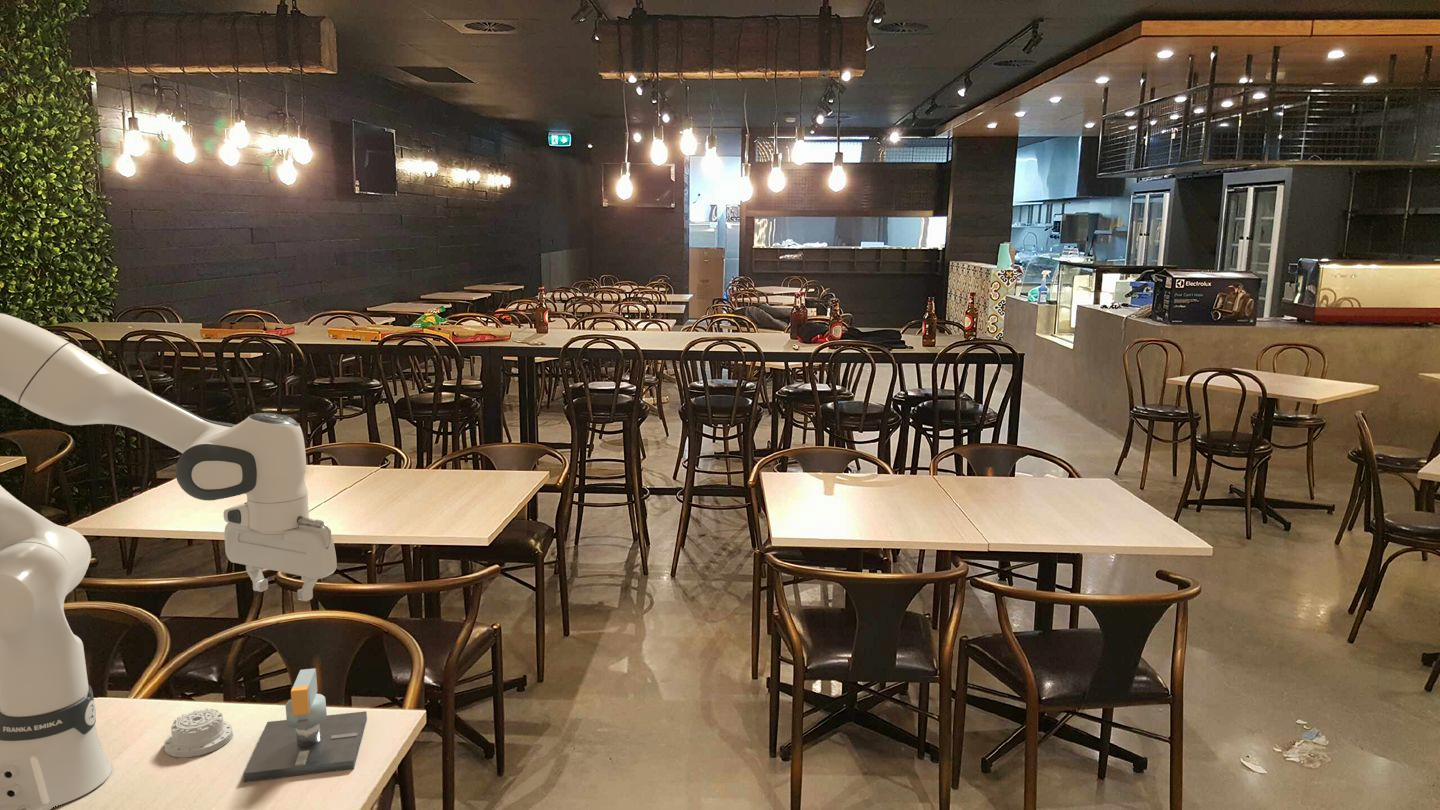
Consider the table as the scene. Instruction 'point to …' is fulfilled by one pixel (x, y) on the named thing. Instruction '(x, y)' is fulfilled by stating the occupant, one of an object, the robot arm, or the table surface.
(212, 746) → the mechanical component
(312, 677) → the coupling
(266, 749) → the post plate
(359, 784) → the table surface
